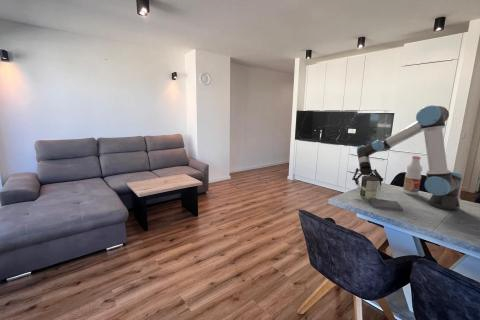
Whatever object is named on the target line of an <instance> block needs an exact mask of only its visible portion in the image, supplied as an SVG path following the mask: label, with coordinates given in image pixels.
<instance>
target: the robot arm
mask: <svg viewBox="0 0 480 320" xmlns="http://www.w3.org/2000/svg"><path fill="white" fill-rule="evenodd" d="M449 117H450V112H449V110H448V109H447V108H446V107H445V106H440V105H426V106H424V107H422V108H420V109H419V110H418V111H417V112H416V115H415V120H416V121H415V122H413V123H411V124H410V125H408V126H407V127H404V128H403V129H401V130H399V131H398V132H396V133H394V134H391V135H390V136H388V137H387V138H385V139H383V140H381V139H376V140H374V141H372V142H371V143H369V144H367V145H363V144H362V145H359V146H357V148H356V154H357V157H358V158H357V159H358V165H359V168H358V167H356V168H355V171H354V175H353V176H352V181H354V182H355V185H356V186H357V190H361V183H360V178H362V176H372V177H376V178H378V179H379V180H378V185H377V192H378V191H379V192H380V191H381V190H382V182H384V178H383V177H382V176H381V174H380V173H379V172H378V171H377V169H376V168H375V169H372V164H371V159H370V156H372V155H373V154H376V153H381V152H387V151H390V150H391V149H392V148H393V147H395V146H398V145H399V144H401V143H403V142H405V141H407V140H408V139H410V138H413V137H414V136H416V135H419V134H420V133H422V132H423V135H424V142H425V150H426V156H427V157H426V158H427V165H428V171H427V172H425V174H426V180H424V181H425V182H424V188H425V191H427V192H428V193H430V194H432V195H431V196H430V198H429V199H428V204H429V205H431V206H432V207H435V208H437V209H441V210H446V211H459V210H460V208H461V206H460V201H459V200H460V199H459V194H460V191H461V190H460V189H461V184H462V181H463V174H462V173H460V172H455V171H451V170H449V169H448V163H447V156H446V155H447V154H446V148H445V147H446V146H445V142H444V132H443V129H444V128H445V127H446V121H448V119H449ZM359 172H360V173H359ZM358 173H359V174H358ZM357 174H358V176H357Z"/></svg>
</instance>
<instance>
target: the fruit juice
mask: <svg viewBox="0 0 480 320" xmlns="http://www.w3.org/2000/svg"><path fill="white" fill-rule="evenodd" d="M411 158H412V159H411V161H410V163H408V165H407V166H406V172H405V176H404V183H403V187H402V188H403V189H402V193H404V194H406V195H412V196H417V195H418V194H419V190H420V185H421V180H422V171H423V167H422V165H421V163H420V162H421V161H420V160H421V158H422V157H421V156H418V155H417V156H416V155H413V156H412V157H411Z"/></svg>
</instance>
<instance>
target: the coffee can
mask: <svg viewBox="0 0 480 320" xmlns="http://www.w3.org/2000/svg"><path fill="white" fill-rule="evenodd" d="M378 180H379V179H378V178H376V177H372V176H369V175H362V176H361V183H360V189H359V191H360V192H359V196H360V198H362V197H363V199H367V200H369V199H370V198H374V199H377V192H378V186H377V185H378Z"/></svg>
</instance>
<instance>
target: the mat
mask: <svg viewBox="0 0 480 320" xmlns="http://www.w3.org/2000/svg"><path fill="white" fill-rule="evenodd" d="M368 200H369V202H370V204H371V206H372V208H375V209H381V210H389V211H396V212H404V208H403V206H401V204H400V203H399V202H398V201H396V200H390V199H382V198H375V199H374V198H370V199H368Z"/></svg>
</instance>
